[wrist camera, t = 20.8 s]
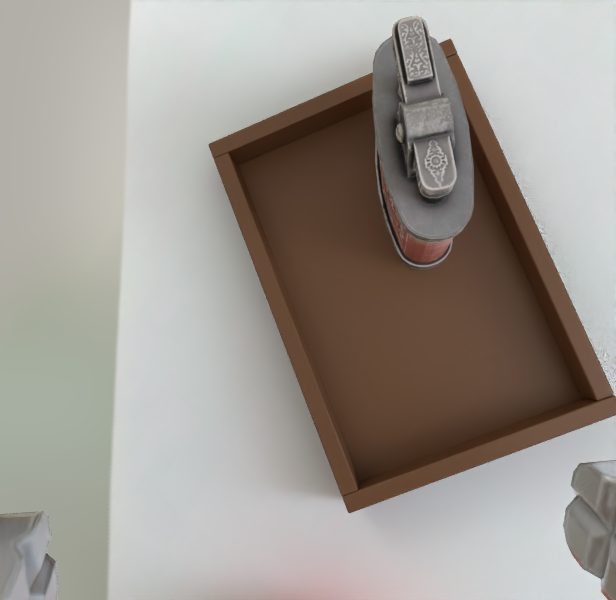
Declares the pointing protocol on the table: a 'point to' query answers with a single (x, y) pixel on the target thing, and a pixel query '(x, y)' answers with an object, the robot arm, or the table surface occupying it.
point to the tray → (407, 302)
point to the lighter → (420, 145)
